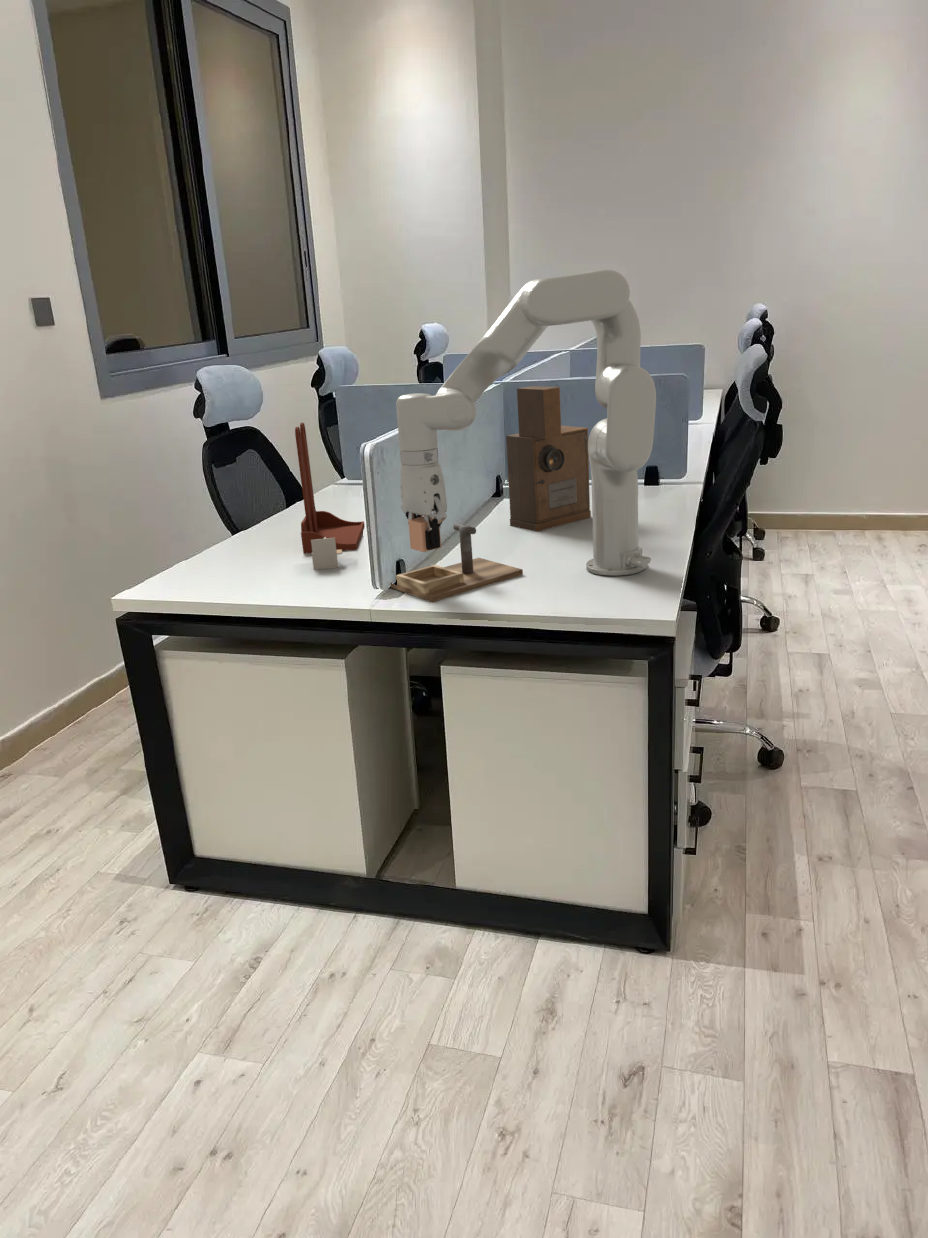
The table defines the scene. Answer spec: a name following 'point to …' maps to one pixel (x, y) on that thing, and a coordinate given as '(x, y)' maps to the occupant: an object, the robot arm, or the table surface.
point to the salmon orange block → (418, 534)
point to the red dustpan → (321, 521)
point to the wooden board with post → (455, 573)
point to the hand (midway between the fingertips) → (425, 545)
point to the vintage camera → (546, 464)
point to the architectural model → (324, 553)
